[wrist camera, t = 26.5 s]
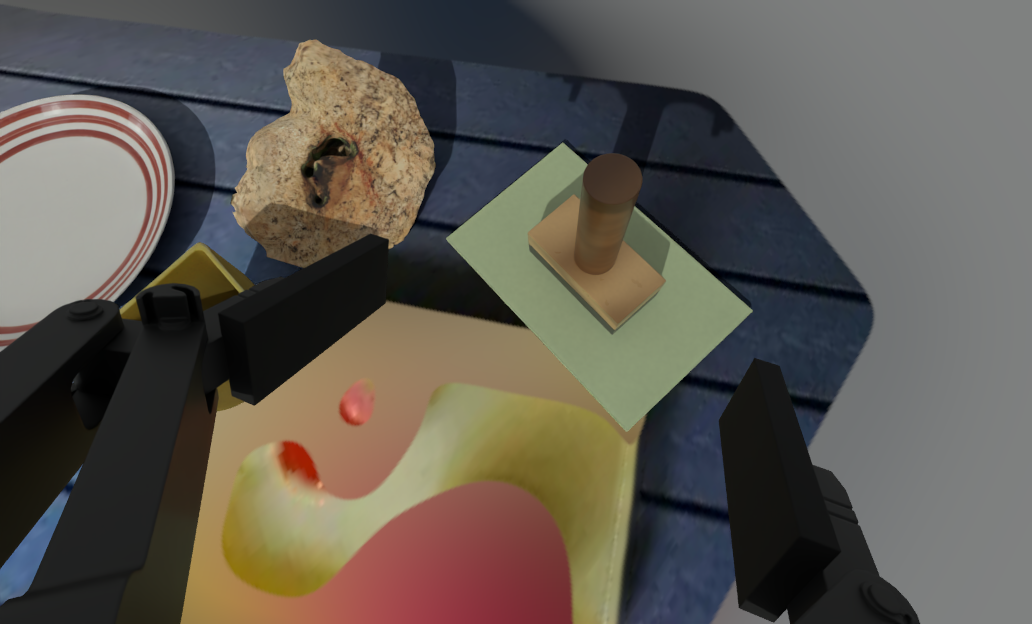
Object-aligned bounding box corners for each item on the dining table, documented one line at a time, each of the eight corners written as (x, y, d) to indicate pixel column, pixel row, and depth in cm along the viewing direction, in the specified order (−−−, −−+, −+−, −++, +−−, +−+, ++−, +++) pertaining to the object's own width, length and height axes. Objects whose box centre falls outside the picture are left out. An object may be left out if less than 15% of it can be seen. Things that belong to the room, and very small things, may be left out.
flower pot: (194, 352, 40) (95, 326, 31) (272, 282, 41) (198, 238, 32) (253, 425, 37) (164, 418, 29) (334, 348, 39) (272, 319, 30)
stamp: (656, 295, 37) (715, 209, 24) (611, 335, 37) (646, 270, 23) (572, 214, 40) (582, 97, 27) (529, 250, 39) (517, 148, 26)
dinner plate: (1, 102, 50) (-37, 78, 46) (233, 123, 46) (210, 99, 43) (-137, 349, 42) (-193, 341, 39) (128, 395, 39) (91, 391, 36)
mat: (750, 312, 37) (753, 310, 36) (626, 431, 35) (627, 431, 35) (562, 146, 43) (562, 141, 42) (447, 240, 41) (445, 237, 40)
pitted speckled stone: (407, 288, 47) (391, 297, 39) (264, 244, 45) (219, 244, 38) (458, 112, 45) (452, 84, 37) (310, 59, 43) (272, 20, 36)
